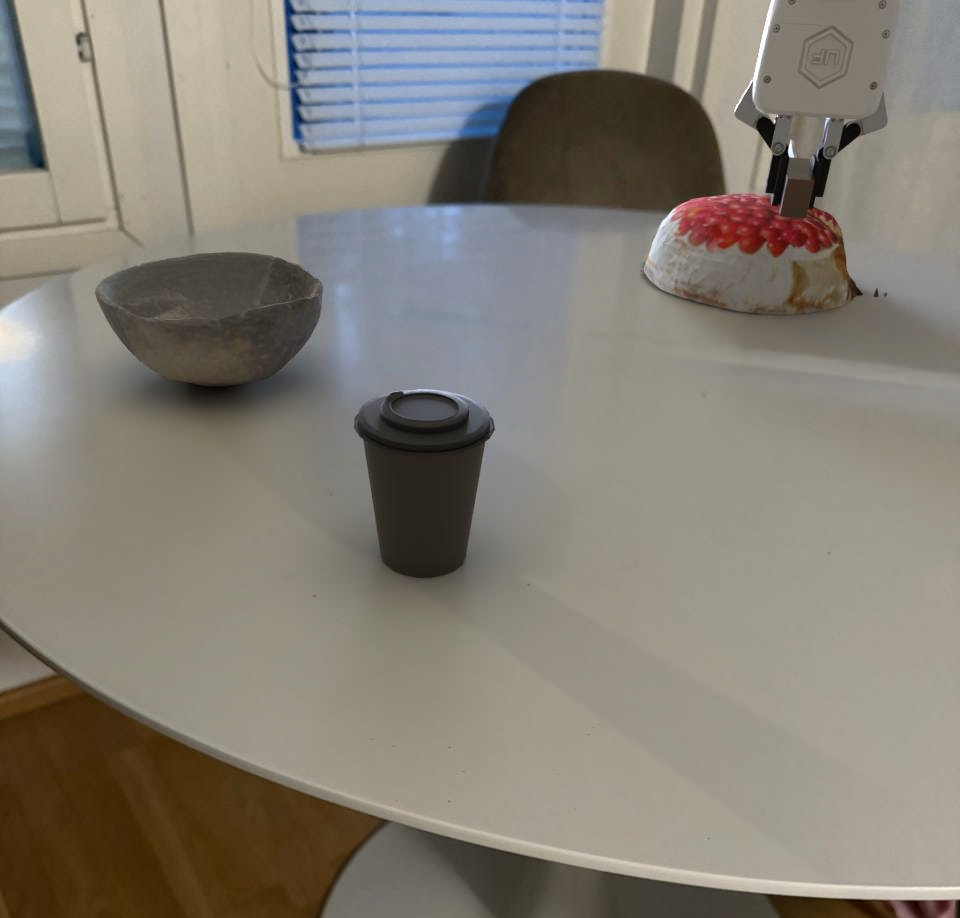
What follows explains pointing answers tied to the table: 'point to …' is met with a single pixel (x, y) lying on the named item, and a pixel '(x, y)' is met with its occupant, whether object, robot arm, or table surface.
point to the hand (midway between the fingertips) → (791, 202)
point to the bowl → (213, 315)
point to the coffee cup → (423, 475)
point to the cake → (751, 257)
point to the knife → (796, 186)
